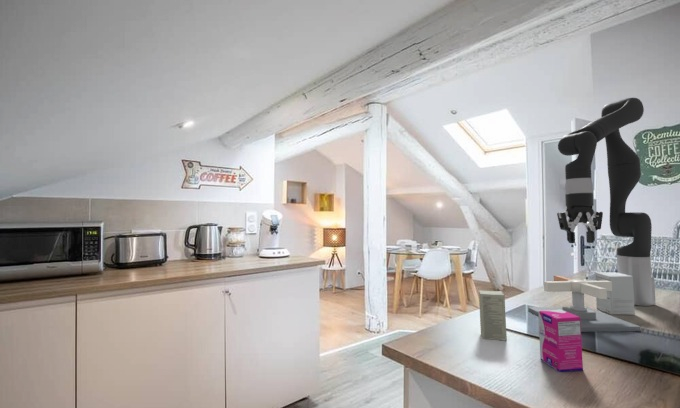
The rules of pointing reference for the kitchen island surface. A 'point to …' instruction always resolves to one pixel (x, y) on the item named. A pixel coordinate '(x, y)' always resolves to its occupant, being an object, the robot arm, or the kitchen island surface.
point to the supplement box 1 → (560, 340)
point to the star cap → (579, 286)
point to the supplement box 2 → (617, 294)
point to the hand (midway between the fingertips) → (580, 242)
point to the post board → (597, 322)
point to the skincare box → (492, 315)
